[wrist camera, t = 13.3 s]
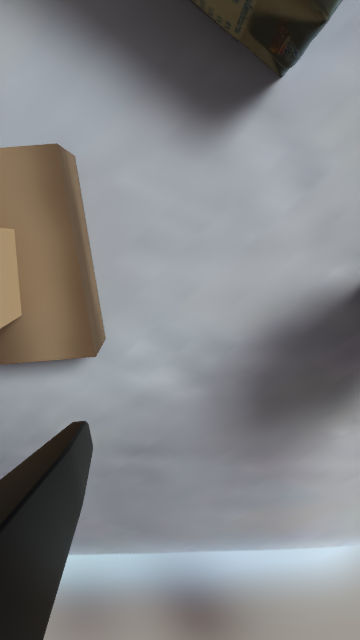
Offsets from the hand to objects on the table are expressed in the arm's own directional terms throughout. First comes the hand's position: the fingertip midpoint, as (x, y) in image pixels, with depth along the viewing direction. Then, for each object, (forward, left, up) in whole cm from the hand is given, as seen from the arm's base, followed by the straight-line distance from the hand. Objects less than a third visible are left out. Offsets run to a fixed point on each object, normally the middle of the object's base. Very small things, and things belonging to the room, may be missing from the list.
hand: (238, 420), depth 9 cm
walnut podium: (+13, -4, -13) cm, 19 cm away
